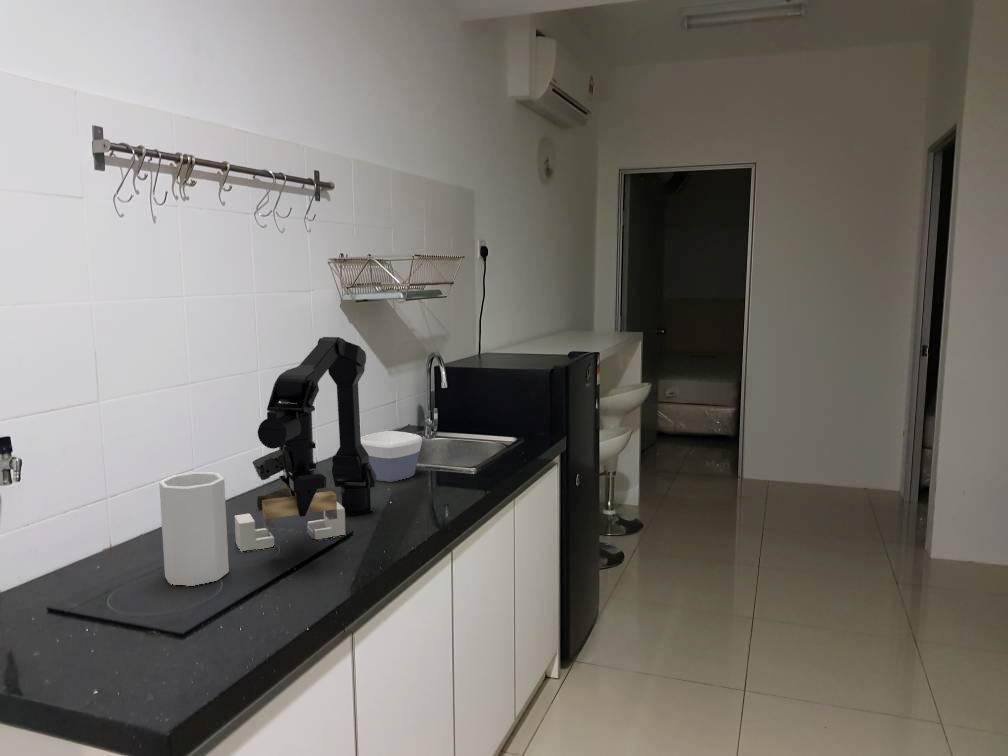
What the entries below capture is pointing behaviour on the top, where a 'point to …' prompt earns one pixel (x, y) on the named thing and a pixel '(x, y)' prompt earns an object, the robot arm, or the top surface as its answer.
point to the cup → (194, 528)
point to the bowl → (392, 454)
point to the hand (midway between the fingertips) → (300, 513)
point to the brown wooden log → (273, 496)
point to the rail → (289, 507)
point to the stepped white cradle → (263, 539)
